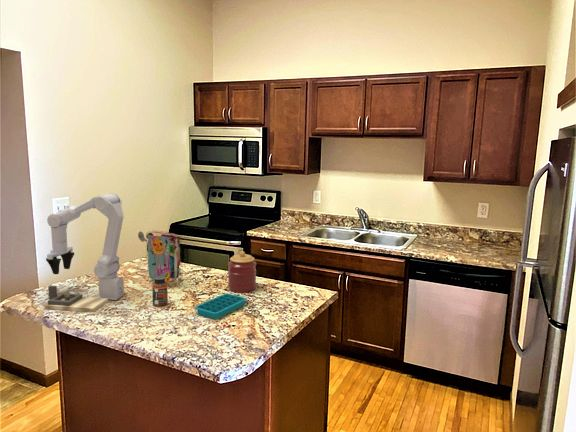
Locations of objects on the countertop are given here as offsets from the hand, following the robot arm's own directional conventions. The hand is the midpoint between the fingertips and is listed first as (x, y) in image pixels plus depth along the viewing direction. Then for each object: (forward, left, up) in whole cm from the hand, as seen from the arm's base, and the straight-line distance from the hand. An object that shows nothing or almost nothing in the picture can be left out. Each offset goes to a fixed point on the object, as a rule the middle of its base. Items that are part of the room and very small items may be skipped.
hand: (61, 271), depth 182 cm
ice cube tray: (-73, +8, -10) cm, 74 cm away
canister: (-76, -18, -10) cm, 79 cm away
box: (-35, -20, -10) cm, 41 cm away
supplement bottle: (-47, +7, -10) cm, 48 cm away
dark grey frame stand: (-10, +14, -8) cm, 19 cm away
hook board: (-15, +14, -9) cm, 22 cm away
